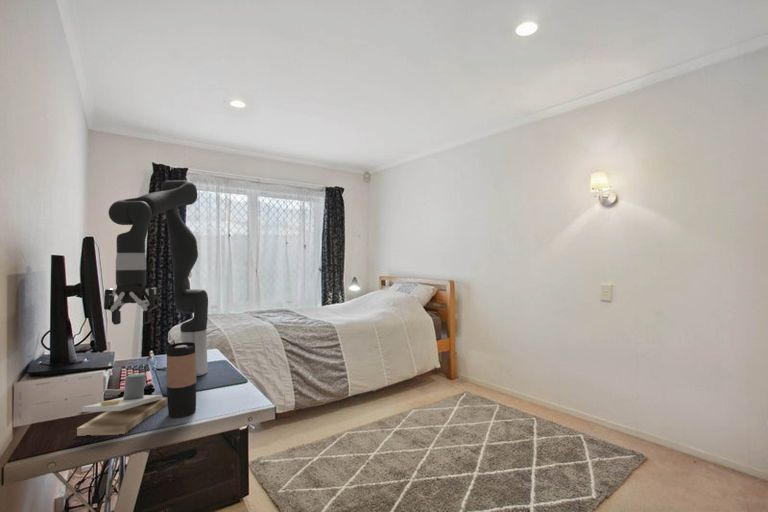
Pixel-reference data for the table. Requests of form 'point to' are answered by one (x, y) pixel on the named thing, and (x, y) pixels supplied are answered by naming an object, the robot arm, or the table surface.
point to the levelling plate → (122, 404)
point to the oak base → (120, 419)
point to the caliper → (112, 392)
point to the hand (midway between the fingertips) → (131, 323)
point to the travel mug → (181, 379)
